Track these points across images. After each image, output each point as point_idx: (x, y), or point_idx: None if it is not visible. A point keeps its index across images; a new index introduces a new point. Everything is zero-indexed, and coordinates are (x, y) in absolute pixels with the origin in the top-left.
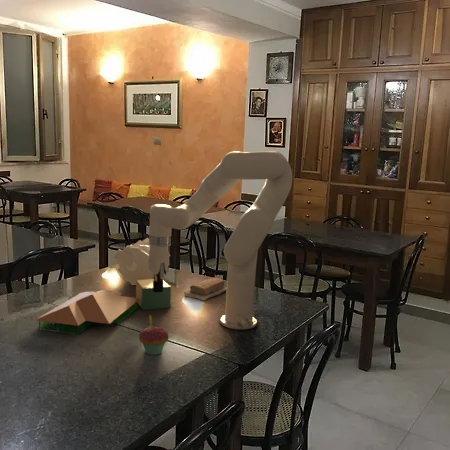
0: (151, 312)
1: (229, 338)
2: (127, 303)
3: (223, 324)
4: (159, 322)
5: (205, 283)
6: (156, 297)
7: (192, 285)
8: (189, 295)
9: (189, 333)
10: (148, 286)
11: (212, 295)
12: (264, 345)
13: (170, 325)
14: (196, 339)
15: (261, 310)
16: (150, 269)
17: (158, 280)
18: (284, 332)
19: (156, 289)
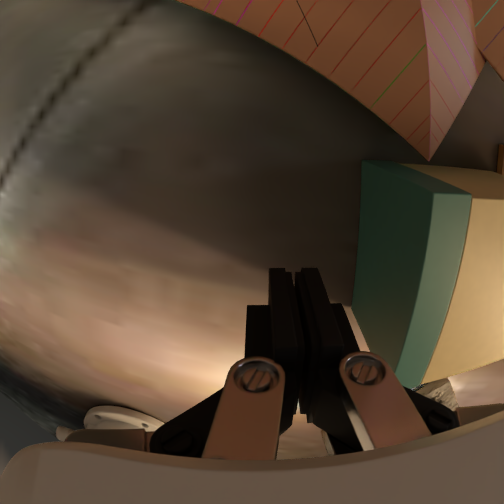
0: (309, 199)
1: (32, 376)
2: (325, 37)
3: (105, 408)
4: (141, 211)
5: None
6: (382, 270)
7: None
8: (423, 390)
9: (37, 299)
10: (464, 254)
11: None
12: (22, 407)
13: (101, 254)
14: (4, 302)
15: None
16: (401, 490)
17: (213, 403)
18: None
19: (269, 305)
